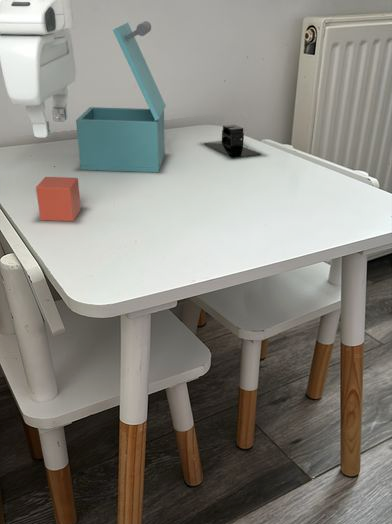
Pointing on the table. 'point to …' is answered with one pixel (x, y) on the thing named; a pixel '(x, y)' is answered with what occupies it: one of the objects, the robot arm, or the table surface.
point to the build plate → (232, 143)
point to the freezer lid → (140, 65)
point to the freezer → (120, 140)
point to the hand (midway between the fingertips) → (51, 128)
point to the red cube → (58, 198)
